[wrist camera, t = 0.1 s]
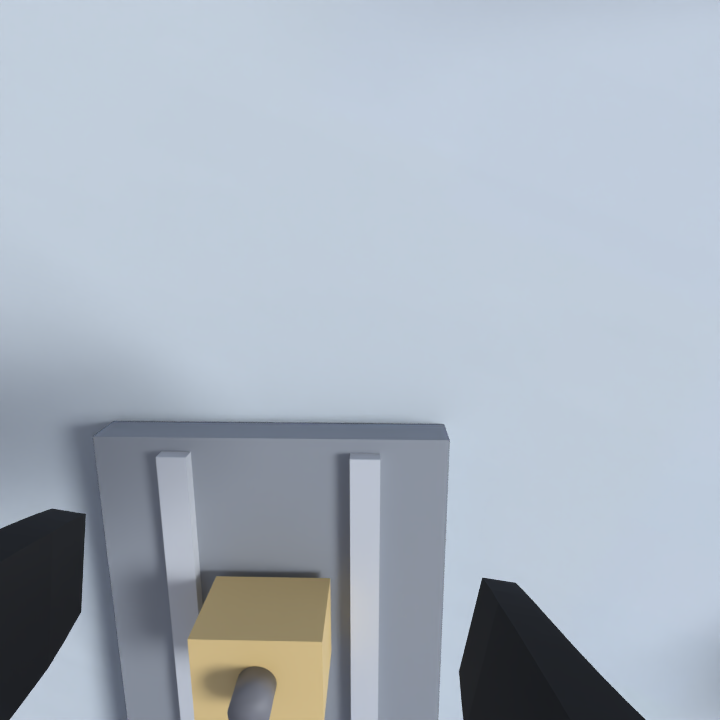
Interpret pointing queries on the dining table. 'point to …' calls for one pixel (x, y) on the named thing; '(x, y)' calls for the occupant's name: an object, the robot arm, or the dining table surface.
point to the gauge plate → (279, 548)
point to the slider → (262, 649)
